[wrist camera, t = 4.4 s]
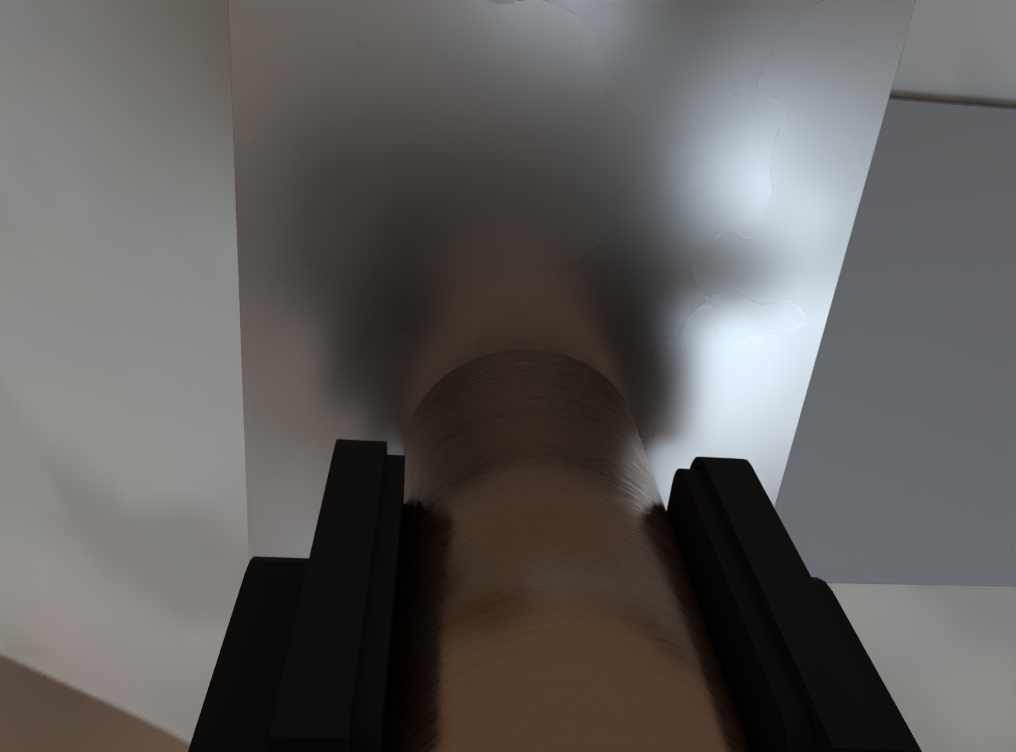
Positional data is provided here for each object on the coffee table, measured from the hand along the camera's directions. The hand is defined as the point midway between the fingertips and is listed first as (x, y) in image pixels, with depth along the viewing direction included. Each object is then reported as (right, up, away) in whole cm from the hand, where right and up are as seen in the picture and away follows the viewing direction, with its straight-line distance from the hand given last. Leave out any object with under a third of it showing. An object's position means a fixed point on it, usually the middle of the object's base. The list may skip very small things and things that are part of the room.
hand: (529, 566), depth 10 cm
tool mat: (+13, +2, +15) cm, 20 cm away
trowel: (0, +4, +1) cm, 4 cm away
